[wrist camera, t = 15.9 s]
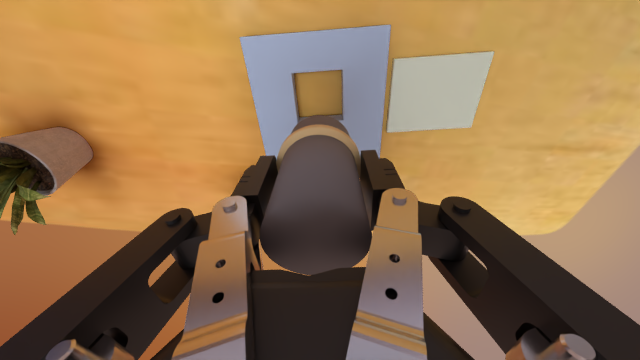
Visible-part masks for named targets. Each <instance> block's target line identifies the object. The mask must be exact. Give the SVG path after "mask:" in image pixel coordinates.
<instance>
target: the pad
mask: <svg viewBox="0 0 640 360" xmlns="http://www.w3.org/2000/svg"><path fill="white" fill-rule="evenodd" d="M493 55H494V51H485V52H472V53H459V54H446V55H433V56H419V57H406V58H393V62H392V73H391V83H390V94H389V104H388V115H387V125H386V132H387V133H388V132H405V131H421V130H437V129H453V128H469V127H471V126H472V123H473V120H474V116H475V113H476V110H477V107H478V103H479V100H480V97H481V94H482V90H483V87H484V84H485V81H486V78H487V74H488V71H489V68H490V65H491V61H492V58H493Z"/></svg>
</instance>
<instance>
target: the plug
mask: <svg viewBox="0 0 640 360" xmlns="http://www.w3.org/2000/svg"><path fill="white" fill-rule="evenodd" d="M276 165H277V170H278V175H277V178H276V181H275V184H274V188H273V191H272V194H271V197H270V200H269V203H268V206H267V209H266V212H265V216H264V219H263V222H262V225H261V228H260V234H259V235H260V243H261V246H262V248H263V250H264V251H265V253H266V254H267V255H268V257H269V258H270V259H271V260H273V261H274V262H275V263H277V264H278V265H280V266H281V267H283V268H285V269H288V270H290V271H293V272H296V273H300V274H306V275H314V274H318V273H322V272H325V271H329V270H333V269H337V268H351V267H353V266H354V265H356V264H357V263H359V262H360V261H361V260H362V259H363V258H364V257H365V256H366V255H367V253H368V251H369V249H370V245H371V240H372V233H371V228H370V224H369V219H368V215H367V210H366V206H365V201H364V197H363V193H362V188H361V184H360V179H359V178H360V172H361V157H360V154H359V150H358V148H357V146H356V144H355V142H354V141H353V140H352V139H351V138H350V135H349V133H348V131H347V129H346V128H345V126H344V125H343V124H342V123H340V122H339V121H338V120H336V119H334V118H332V117H329V116H324V115H315V116H310V117H308V118H305V119H303V120H302V121H300V122H299V123H298V124H297V125H296V126H295V127H294V129H293V130H292V132H291V134H290V135H289V136H288V137H287V138H286V139H285V141H284V142H283V144H282V146H281V148H280V151H279V153H278V156H277V161H276Z"/></svg>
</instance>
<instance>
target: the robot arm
mask: <svg viewBox="0 0 640 360" xmlns="http://www.w3.org/2000/svg"><path fill="white" fill-rule="evenodd" d="M360 157H361V172H360V184H361V188H362V193H363V197H364V201H365V206H366V210H367V215H368V219H369V224H370V228H371V231H373V230H374V231H373V235H372V240H371V245H370V250H369V255H368V260H367V265H366V267H354V268H337V269H333V270H329V271H325V272H322V273H318V274H314V275H309V276H307V275H302V274H298V273H293V272H289V271H284V270H263V263H262V254H261V245H260V242H259V239H260V235H259V234H260V228H261V225H262V222H263V219H264V216H265V212H266V209H267V206H268V203H269V200H270V197H271V194H272V191H273V188H274V184H275V181H276V178H277V175H278V170H277V165H276V161H277V160H276V157H275V155H271V156H260V158H259V160H258V162H257V164H256V165H252V166H250V167H249V168H248V169H247V170H245V172H244V174H243V175H242V178H241V179H240V181H239V183H238V184H237V186H236V188H235V190H234V192H233V193H232V195H231V196H230V197H227V198H224V199H222V200H220V201H219V202H217V203H216V204H215V206H214V207H213V210H212V212H210V213H206V214H202V215H198V216H194V215H193V213H192V211H191V210H189V209H187V208H180V209H175V210H172V211H170V212H168V213H166V214H164V215H163V216H161V217H160V218H159V219H157V220H156V221H155V222H154V223H152V224H151V225H150V226H149V227H148V228H146V229H145V230H144V231H143V232H141V233H140V234H139V235H138V236H136V237H135V238H134V239H133V240H131V241H130V242H129V243H128V244H127V245H126V246H124V247H123V248H122V249H120V250H119V251H118V252H117V253H115V254H114V255H113V256H112V257H110V258H109V259H108V260H107V261H106V262H104V263H103V264H102V265H101V266H99V267H98V268H97V269H96V270H94V271H93V272H92V273H91V274H89V275H88V276H87V277H86V278H85V279H83V280H82V281H81V282H80V283H78V284H77V285H76V286H75V287H73V288H72V289H71V290H70V291H69V292H67V293H66V294H65V295H64V296H62V297H61V298H60V299H59V300H57V301H56V302H55V303H54V304H53V305H51V306H50V307H49V308H47V309H46V310H45V311H44V312H43V313H41V314H40V315H39V316H38V317H36V318H35V319H34V320H33V321H32V322H30V323H29V324H28V325H26V326H25V327H24V328H23V329H22V330H20V331H19V332H18V333H17V334H15V335H14V336H13V337H12V338H10V339H9V340H8V341H7V342H5V343H4V344H3V345H2V346H1V347H0V360H138V359H139V358H140V356H141V355H142V354H143V353H144V351H145V350H146V349H147V348H148V346H149V345H150V344H151V342H152V341H153V340H154V339H155V337H156V336H157V335H158V333H159V332H160V331H161V330H162V328H163V327H164V326H165V325H166V323H167V322H168V321H169V319H170V318H171V317H172V316H173V314H174V313H175V312H176V310H177V309H178V308H179V306H180V305H181V304H182V303H183V302H184V300H185V299H186V298H187V296H188V295H189V293H191V294H190V300H189V305H188V311H187V316H186V322H185V327H184V329H183V330H182V331H181V332H180V333H179V334H178V335H177V336H176V337H175V338H173V339H172V340H171V341H170V342H169V343H168V344H167V345H166V346H164V347H163V348H162V350H160V351H159V352H158V353H157V354H156V355H155V356H154V357H152V358H151V359H150V360H474V359H473V358H472V357H471V356H470V355H469V354H468V353H467V352H466V351H464V349H462V348H461V347H460V346H459V345H458V344H457V343H456V342H455V341H454V340H453V339H452V338H451V337H450V336H449V335H447V334H446V333H445V332H444V331H443V330H442V329H441V328H440V327H439V326H438V325H437V324H436V323H435V322H433V321H432V320H431V319H430V318H429V317H428V316H427V315H426V314H425V313H424V312H423V287H422V286H423V285H422V255H427V256H428V257H429V259H430V260H431V262H432V263H433V264H434V265H435V266H436V268H437V269H438V270H439V272H440V273H441V274H442V275H443V277H444V278H445V279H446V280H447V282H448V283H449V284H450V285H451V287H452V288H453V289H454V290H455V292H456V293H457V294H458V295H459V297H460V298H461V299H462V300H463V302H464V303H465V304H466V305H467V307H468V308H469V309H470V310H471V311H472V313H473V314H474V315H475V316H476V318H477V319H478V320H479V321H480V323H481V324H482V325H483V326H484V328H485V329H486V330H487V331H488V333H489V334H490V335H491V337H492V338H493V339H494V340H495V342H496V343H497V344H498V345H499V346H500V348H501V349H502V350H503V351H504V353H505V354H506V357H505V360H640V325H639V324H637V323H636V322H635V321H633V320H632V319H631V318H629V317H628V316H627V315H625V314H624V313H622V312H621V311H620V310H619V309H617V308H616V307H615V306H613V305H612V304H611V303H609V302H608V301H606V300H605V299H604V298H602V297H601V296H600V295H598V294H597V293H596V292H594V291H593V290H592V289H590V288H589V287H588V286H586V285H585V284H583V283H582V282H581V281H579V280H578V279H577V278H576V277H574V276H573V275H572V274H570V273H569V272H568V271H566V270H565V269H564V268H562V267H561V266H560V265H558V264H557V263H555V262H554V261H553V260H552V259H550V258H549V257H547V256H546V255H545V254H544V253H542V252H541V251H540V250H538V249H537V248H535V247H534V246H533V245H531V244H530V243H529V242H527V241H526V240H525V239H523V238H522V237H521V236H519V235H518V234H517V233H515V232H514V231H513V230H511V229H510V228H509V227H507V226H506V225H505V224H503V223H502V222H501V221H499V220H498V219H497V218H495V217H494V216H493V215H491V214H490V213H489V212H487V211H486V210H485V209H483V208H482V207H481V206H479V205H478V204H476V203H475V202H473V201H471V200H469V199H466V198H462V197H447V198H445V199H443V200H442V202H441V204H440V205H434V204H427V203H423V202H420V201H418V198H417V197H416V195H415V194H414V193H412V192H411V191H409V190H406V189H405V187H404V185H403V183H402V181H401V179H400V177H399V175H398V173H397V171H396V170H395V167H394V165H393V163H392V162H390V161H389V160H388V159H386V158H381V159H379V157H378V155H377V152H376V150H361V155H360ZM469 249H470V250H471V251H472V252H473V253H474V254H475V255H476V256H477V257H478V258H479V259H480V260H481V261H482V262H483V263H484V264H485V266H486V268H487V270H486V268H485V267H483V265H481V264H480V263H479V262H478V261H477V260H476V259H475V258H474V257H473V256H472V255H471V254H470V253H469V252H468V250H469ZM170 254H172V256H173V257H174V258H175V260H176V261H175V262H174V263H173V264H172V265H171V266H170V267H169V268H168V269H167V270H166V271H165V272H164V273H163V274H162V275H161V277H160V278H159V279H158V280H157V281H156V282H155V283H154V284H153V285H152V286H151V287H149V285H148V279H149V276H150V274H151V273H152V272H153V270H155V268H156V267H158V266H159V265H160V264H161V262H163V260H165V258H166V257H167V256H168V255H170Z"/></svg>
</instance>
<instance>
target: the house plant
mask: <svg viewBox="0 0 640 360" xmlns="http://www.w3.org/2000/svg"><path fill="white" fill-rule="evenodd" d="M92 157H93V151H92V149H91V147H90V146H89V144H88V143H87V141H86V140H85V139H84V138H83V137H82V136H80V135H79V134H78V133H76V132H74V131H72V130H70V129H67V128H63V127H53V128H48V129H43V130H38V131H33V132H28V133H23V134H17V135H12V136H7V137H2V138H0V218H1V215H2V212H3V210H4V207H5V205H6V203H7V200H8V198H9V196H10V193H13V192H15V191H16V192H15V196H14V201H13V205H12V218H11V229H12V231H13V233H14V235H15V234H16V232H17V229H18V225H19V224H20V222H21V221H22V219H23V211H24V204H25V201H26V212H27V214H28V217H30V218H31V219H32V220H33V221H35V222H37V223H40V224H43V225H47V224H45V220H44V218H43V216H42V215H41V213H40V211H39V209H38V206H37V204H36V201H35V200H38V199H42V198H46V197H51V196H46V195H49V194H52V193H54V192H55V191H56V190H57V189H58V188H59V187H60V186H62V185H63V184H64V183H65V182H66V181H67V180H69V179H70V178H71V177H72V176H73V175H74V174H75V173H77V172H78V171H79V170H80V169H81V168H82V167H83V166H85V165H86V164H87V163H88V162H89V161H90V160H91V159H92Z"/></svg>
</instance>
